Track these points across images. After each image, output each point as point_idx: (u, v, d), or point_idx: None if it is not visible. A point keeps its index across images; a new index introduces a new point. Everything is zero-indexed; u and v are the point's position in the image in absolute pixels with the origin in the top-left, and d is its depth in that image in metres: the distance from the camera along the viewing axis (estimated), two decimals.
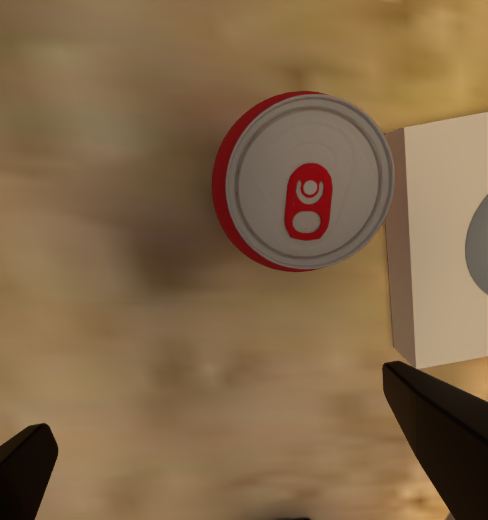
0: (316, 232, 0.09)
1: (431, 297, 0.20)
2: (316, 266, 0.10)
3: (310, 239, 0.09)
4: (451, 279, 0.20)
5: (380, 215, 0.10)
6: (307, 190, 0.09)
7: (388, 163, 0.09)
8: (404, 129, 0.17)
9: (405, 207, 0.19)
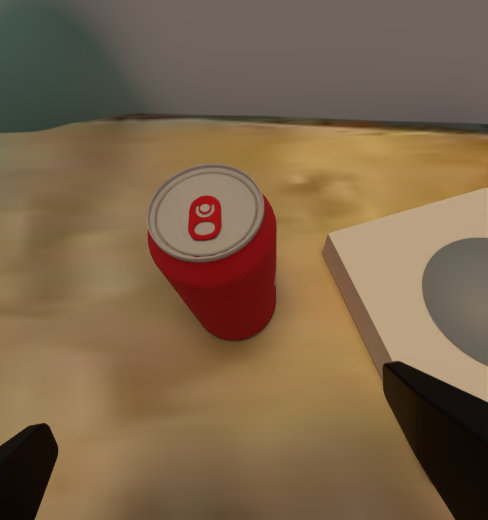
0: (212, 233, 0.12)
1: None
2: (214, 255, 0.12)
3: (208, 237, 0.12)
4: (435, 353, 0.18)
5: (260, 218, 0.13)
6: (202, 209, 0.13)
7: (257, 189, 0.13)
8: (328, 234, 0.22)
9: (354, 290, 0.20)
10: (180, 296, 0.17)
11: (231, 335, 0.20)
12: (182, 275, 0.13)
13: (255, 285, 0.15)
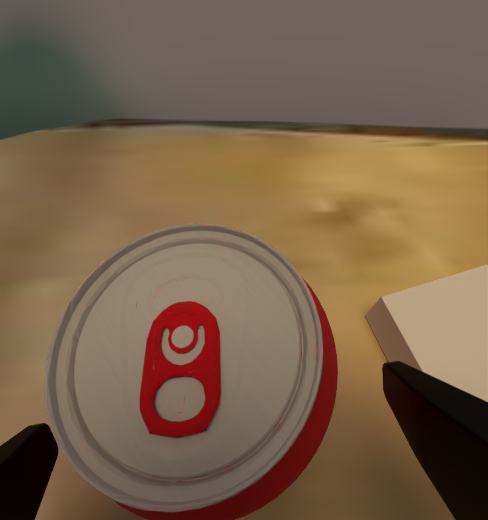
0: (197, 416, 0.05)
1: None
2: (202, 501, 0.04)
3: (187, 434, 0.05)
4: None
5: (314, 371, 0.05)
6: (177, 342, 0.06)
7: (301, 288, 0.06)
8: (382, 298, 0.15)
9: None
10: None
11: None
12: (127, 507, 0.05)
13: None
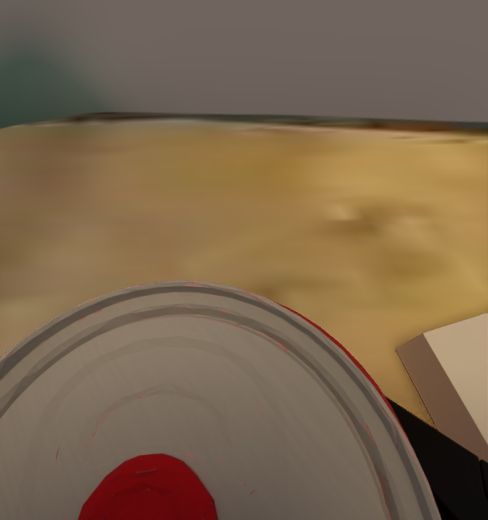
0: None
1: None
2: None
3: None
4: None
5: None
6: None
7: (388, 429, 0.03)
8: (424, 335, 0.12)
9: None
10: None
11: None
12: None
13: None
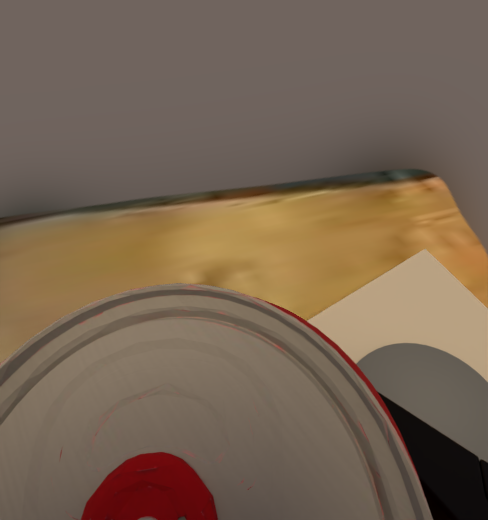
0: None
1: None
2: None
3: None
4: None
5: None
6: None
7: (380, 426, 0.03)
8: None
9: None
10: None
11: None
12: None
13: None
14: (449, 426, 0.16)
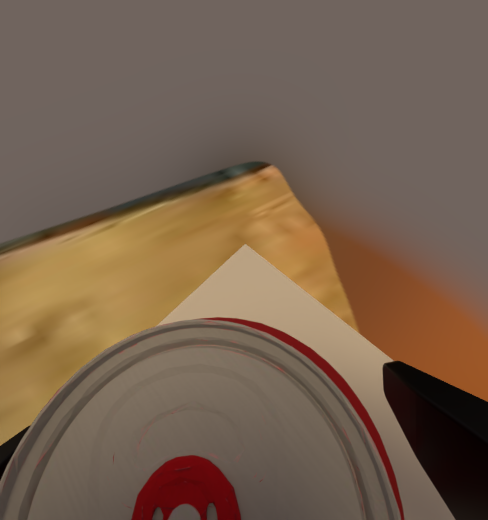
0: None
1: None
2: None
3: None
4: None
5: None
6: None
7: (358, 431, 0.04)
8: None
9: None
10: None
11: None
12: None
13: None
14: None
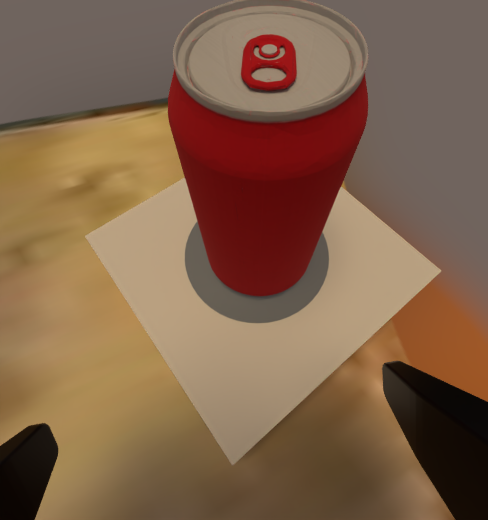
0: (282, 80, 0.07)
1: (192, 358, 0.16)
2: (287, 110, 0.07)
3: (275, 86, 0.07)
4: (202, 328, 0.17)
5: (360, 71, 0.08)
6: (265, 51, 0.08)
7: (353, 36, 0.08)
8: (86, 237, 0.20)
9: (120, 289, 0.18)
10: (200, 214, 0.12)
11: (254, 287, 0.16)
12: (221, 151, 0.08)
13: (320, 199, 0.10)
14: None
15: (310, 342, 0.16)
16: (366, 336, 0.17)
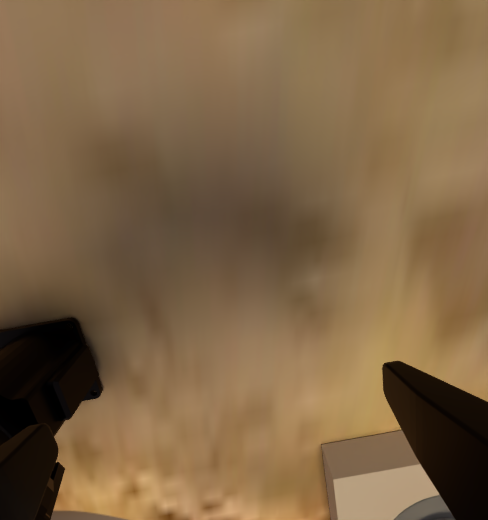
0: None
1: (402, 479, 0.23)
2: None
3: None
4: (415, 490, 0.23)
5: None
6: None
7: None
8: None
9: None
10: None
11: None
12: None
13: None
14: None
15: None
16: None
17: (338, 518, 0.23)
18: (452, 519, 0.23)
